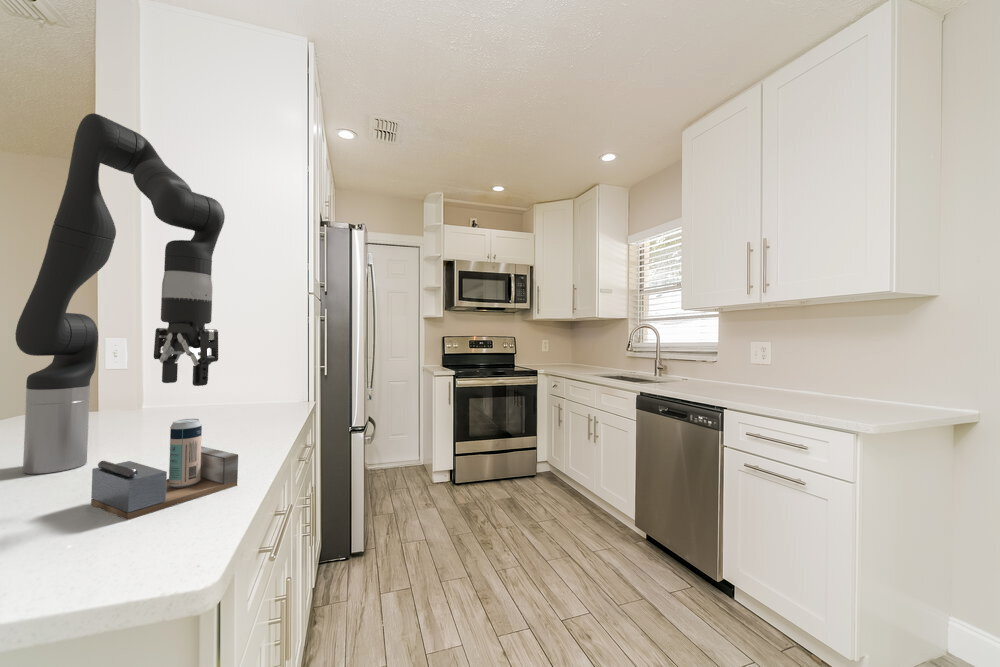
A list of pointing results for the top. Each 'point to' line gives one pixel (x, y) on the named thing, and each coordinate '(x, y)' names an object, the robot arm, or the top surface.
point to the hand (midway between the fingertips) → (184, 384)
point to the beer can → (185, 453)
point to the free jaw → (128, 485)
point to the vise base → (214, 476)
